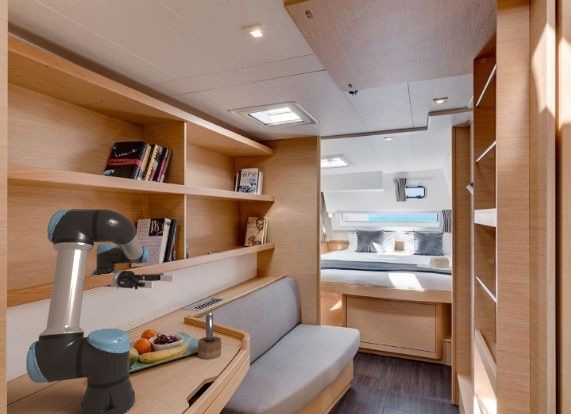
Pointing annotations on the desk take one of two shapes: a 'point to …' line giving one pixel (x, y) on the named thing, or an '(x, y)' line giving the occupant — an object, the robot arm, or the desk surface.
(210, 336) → the round-tipped metal rod
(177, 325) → the desk surface
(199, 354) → the bead
